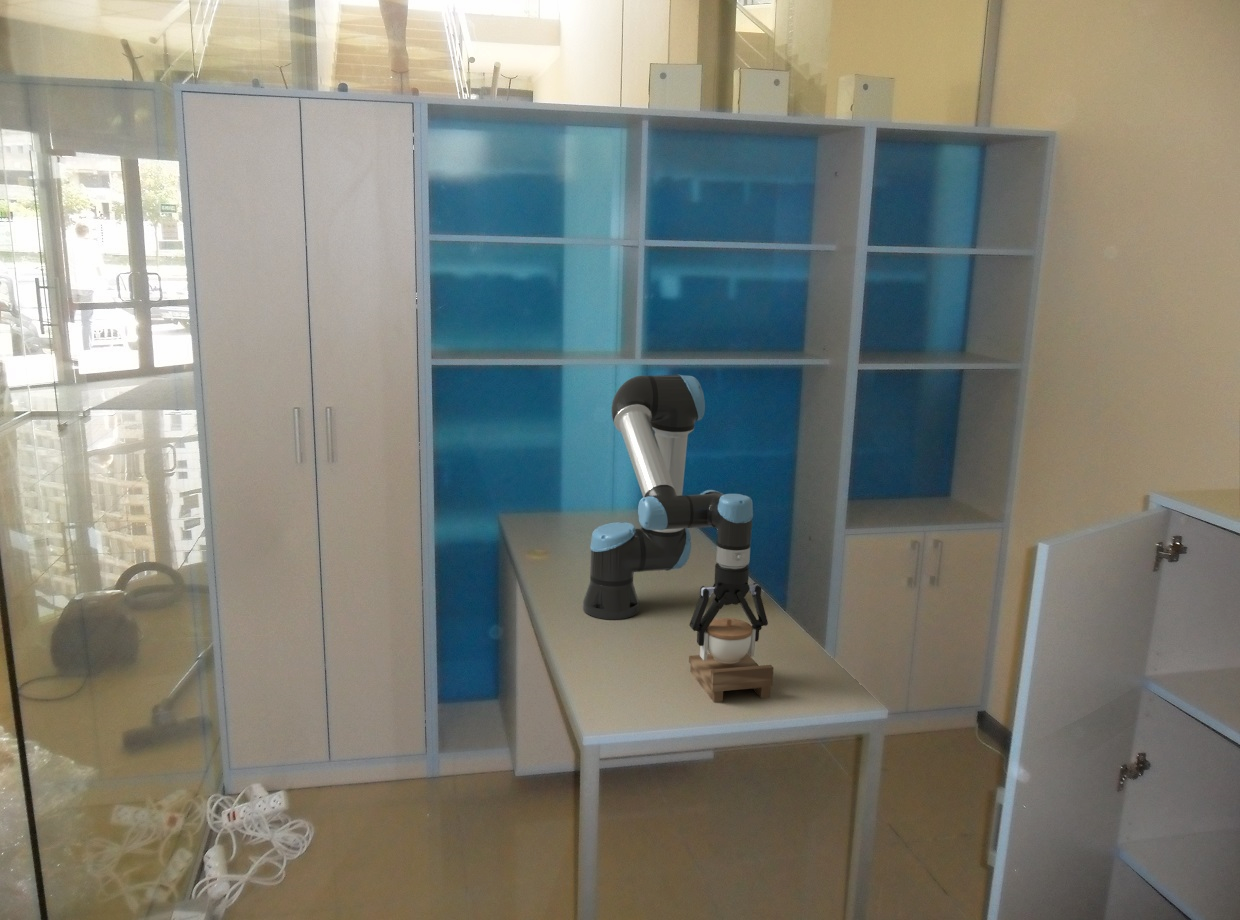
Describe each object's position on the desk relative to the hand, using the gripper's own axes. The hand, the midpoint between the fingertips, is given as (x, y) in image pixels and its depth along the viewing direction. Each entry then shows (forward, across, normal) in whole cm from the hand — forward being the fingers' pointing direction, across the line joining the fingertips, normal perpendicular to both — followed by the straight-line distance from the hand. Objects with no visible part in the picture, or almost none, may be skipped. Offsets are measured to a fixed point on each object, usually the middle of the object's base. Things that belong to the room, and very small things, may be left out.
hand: (726, 656), depth 223 cm
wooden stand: (+6, 0, -2) cm, 6 cm away
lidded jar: (+1, 0, 0) cm, 1 cm away
